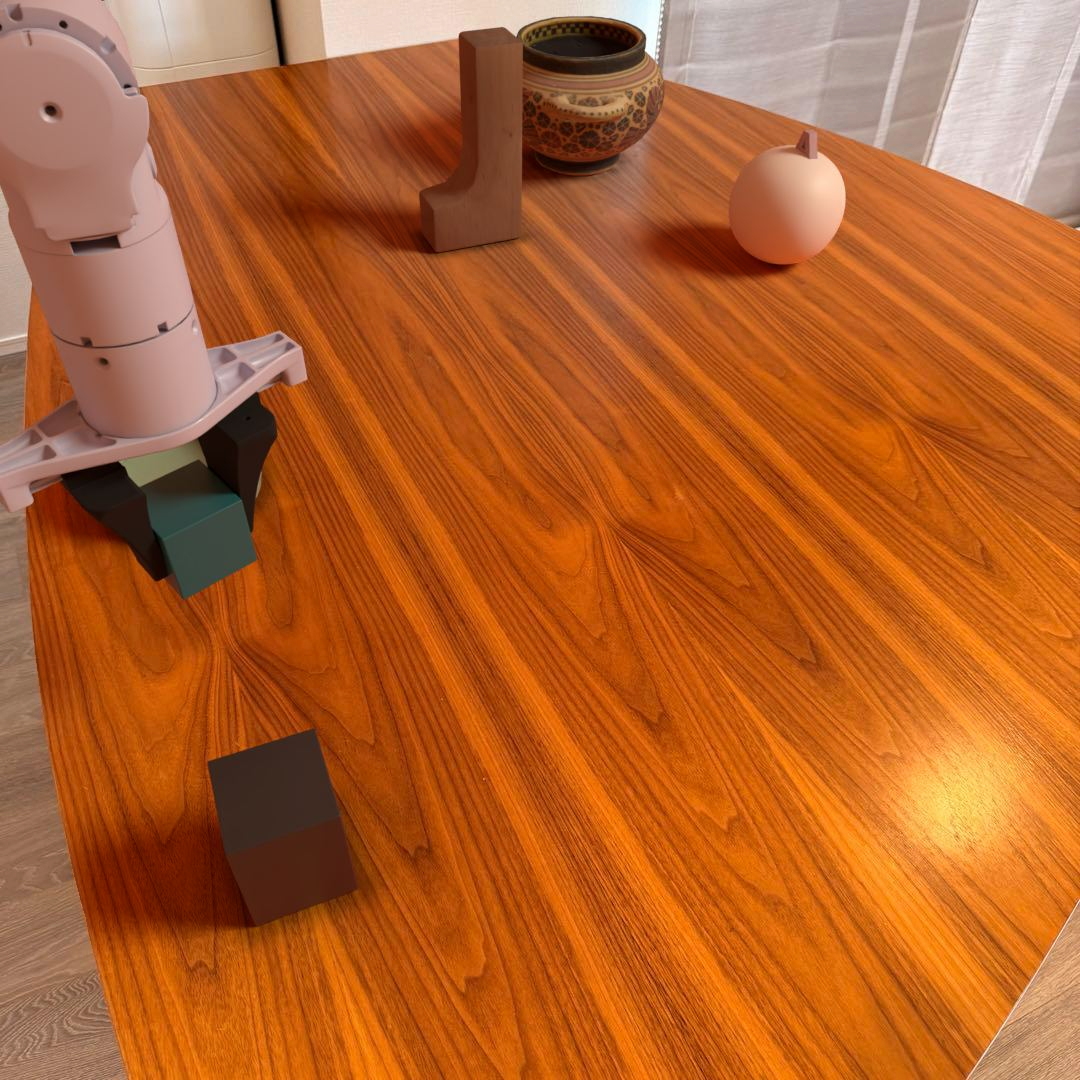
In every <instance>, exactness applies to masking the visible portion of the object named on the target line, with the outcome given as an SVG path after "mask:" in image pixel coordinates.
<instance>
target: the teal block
mask: <svg viewBox="0 0 1080 1080" xmlns="http://www.w3.org/2000/svg"><path fill="white" fill-rule="evenodd" d="M139 488H140V489H141V490H142V491H143V492H144V493H145V494H146V495H147V507H148V513H149V518H150V523H151V527H152V530H153V534H154V537H155V540H156V542H157V544H158V546H159V548H160V551H161V553H162V555H163V557H164V560H165V564H166V568H167V572H168V576H167V577H165V578H163V579H164V580H165V581H166V582H167V584H168V585H169V586H170V587H171V588H172V589H173V590H174V592H176V594H177V595H178V596H179V597H180V598H181V599H182V600H183V601H186V600H187V599H188V598H190V597H192V596H194V595H196V594H198V593H200V592H201V591H204V590H205V589H207V588H209V587H211V586H212V585H215V584H216V583H218V582H220V581H222V580H224V579H225V578H227V577H230V576H231V575H233V574H235V573H237V572H238V571H240V570H242V569H244V568H245V567H248V566H250V565H251V564H254V563H255V562H257V561H258V557H257V552H256V549H255V544H254V540H253V538H252V534H251V533H252V532H251V533H250V529H249V526H248V522H247V518H246V514H245V510H244V507H243V503H242V500H241V499H240V498H239V497H238V496H237V495H236V494H235V493H234V492H233V491H232V490H231V489H230V488H229V487H228V486H227V485H225V484H224V483H223V482H222V481H221V480H220V479H219V478H218V477H217V476H216V475H215V474H214V473H213V472H212V471H211V470H210V469H209V468H208V467H207V466H206V465H205V464H204V463H203V462H201V461H200V460H199V459H198V460H196V461H194V462H191V463H189V464H187V465H185V466H183V467H181V468H179V469H176V470H174V471H172V472H170V473H168V474H166V475H164V476H162V477H159V478H157V479H155V480H153V481H151V482H149V483H147V484H145V485H142V486H140V487H139Z"/></svg>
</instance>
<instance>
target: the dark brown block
mask: <svg viewBox="0 0 1080 1080" xmlns="http://www.w3.org/2000/svg"><path fill="white" fill-rule="evenodd" d="M206 764H207V770H208V773H209V780H210V784H211V790H212V795H213V800H214V805H215V806H214V807H215V811H216V816H217V822H218V825H219V831H220V837H221V841H222V846H223V851H224V855H225V858H226V861H227V862H228V865H229V867H230V870H231V872H232V874H233V877H234V879H235V882H236V884H237V886H238V888H239V890H240V894H241V895H242V898H243V900H244V902H245V905H246V907H247V909H248V912H249V914H250V917H251V919H252V921H253V924H254V925H255V927H259V926H262V925H265V924H267V923H270V922H273V921H276V920H278V919H281V918H284V917H287V916H289V915H291V914H295V913H297V912H300V911H303V910H305V909H309V908H311V907H313V906H316V905H319V904H322V903H325V902H328V901H330V900H332V899H335V898H338V897H342V896H344V895H346V894H350V893H352V892H355V891H357V890H359V883H358V881H357V876H356V872H355V867H354V863H353V859H352V855H351V851H350V847H349V843H348V839H347V834H346V831H345V827H344V826H345V825H344V822H343V817H342V814H341V810H340V807H339V804H338V800H337V797H336V794H335V790H334V787H333V783H332V780H331V777H330V773H329V771H328V767H327V763H326V760H325V755H324V753H323V750H322V746H321V742H320V739H319V736H318V732H317V729H316V728H314V727H313V728H310V729H305V730H304V731H300V732H297V733H293V734H290V735H288V736H285V737H281V738H278V739H274V740H272V741H268V742H265V743H261V744H259V745H256V746H253V747H249V748H245V749H243V750H240V751H239V750H238V751H236V752H233V753H230V754H227V755H224V756H220V757H218V758H217V757H216V758H214V759H210V760H207V762H206Z"/></svg>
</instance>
